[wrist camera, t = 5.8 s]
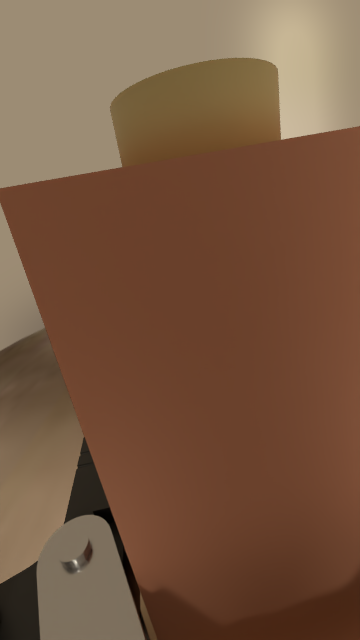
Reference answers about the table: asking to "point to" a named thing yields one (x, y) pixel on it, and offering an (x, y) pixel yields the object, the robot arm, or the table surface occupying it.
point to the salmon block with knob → (214, 350)
